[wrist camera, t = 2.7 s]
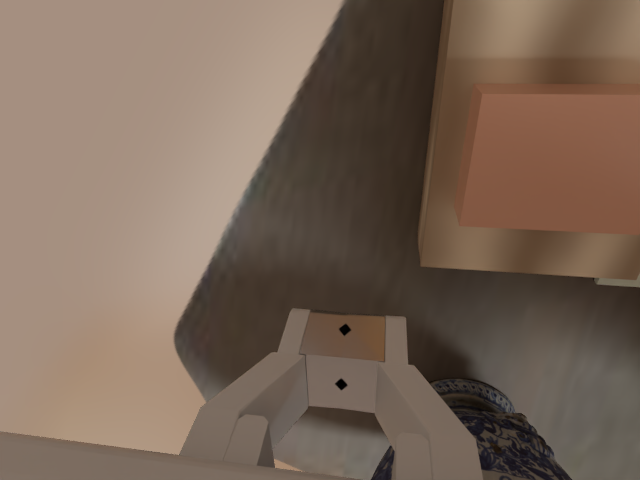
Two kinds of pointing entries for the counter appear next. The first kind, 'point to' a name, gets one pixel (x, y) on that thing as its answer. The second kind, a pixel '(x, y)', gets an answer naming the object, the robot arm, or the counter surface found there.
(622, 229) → the tile
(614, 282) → the mat
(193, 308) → the counter surface
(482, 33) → the tan flat block
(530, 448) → the decorative vase
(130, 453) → the robot arm
